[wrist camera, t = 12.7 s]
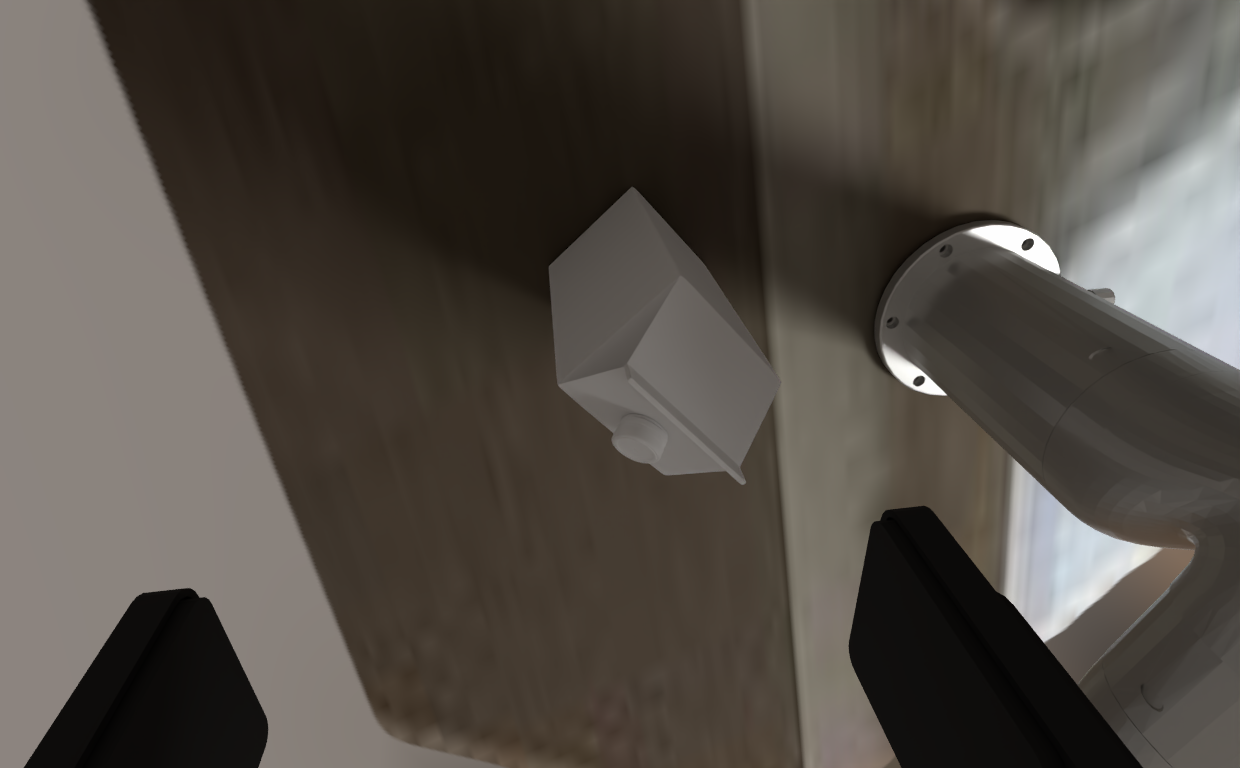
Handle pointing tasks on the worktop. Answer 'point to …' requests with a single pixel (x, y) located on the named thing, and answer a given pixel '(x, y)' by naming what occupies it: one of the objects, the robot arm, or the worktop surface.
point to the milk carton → (656, 345)
